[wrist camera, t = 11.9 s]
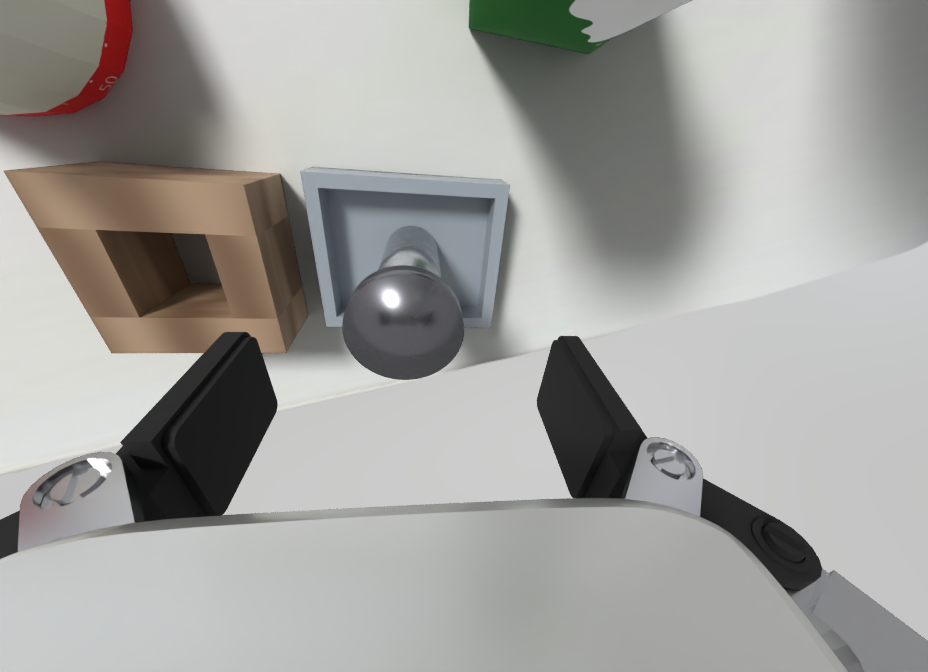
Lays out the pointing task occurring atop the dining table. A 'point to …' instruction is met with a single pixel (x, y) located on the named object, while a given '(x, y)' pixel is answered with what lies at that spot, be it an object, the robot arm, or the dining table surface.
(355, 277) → the tray
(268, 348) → the socket block
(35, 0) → the kitchen timer
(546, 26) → the milk carton
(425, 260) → the pin
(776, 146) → the dining table surface
